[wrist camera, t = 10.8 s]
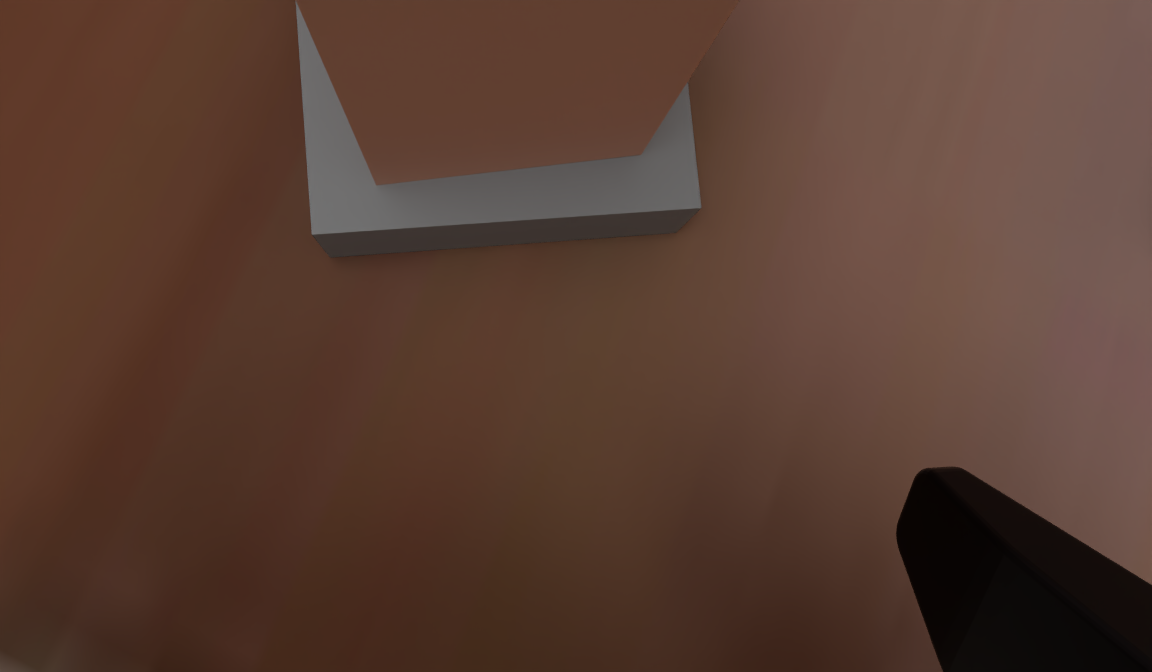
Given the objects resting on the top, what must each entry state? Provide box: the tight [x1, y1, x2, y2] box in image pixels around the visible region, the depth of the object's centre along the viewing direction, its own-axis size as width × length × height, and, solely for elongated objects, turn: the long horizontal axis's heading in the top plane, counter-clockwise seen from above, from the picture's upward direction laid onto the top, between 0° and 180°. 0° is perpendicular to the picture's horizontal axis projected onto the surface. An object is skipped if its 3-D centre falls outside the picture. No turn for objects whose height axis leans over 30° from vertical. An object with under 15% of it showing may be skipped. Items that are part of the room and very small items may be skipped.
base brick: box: [296, 2, 701, 257], centre depth 22 cm, size 8×8×3 cm
